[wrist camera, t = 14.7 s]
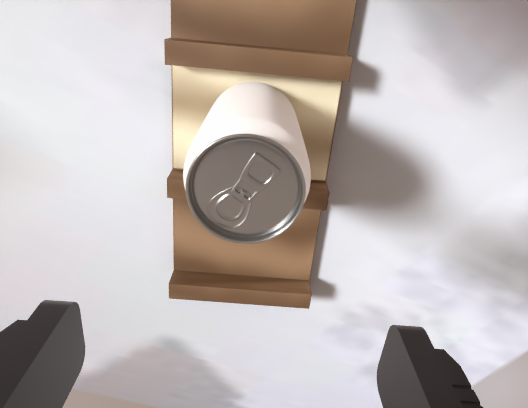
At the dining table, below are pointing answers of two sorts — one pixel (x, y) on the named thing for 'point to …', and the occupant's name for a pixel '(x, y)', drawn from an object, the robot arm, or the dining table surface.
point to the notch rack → (308, 115)
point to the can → (248, 166)
